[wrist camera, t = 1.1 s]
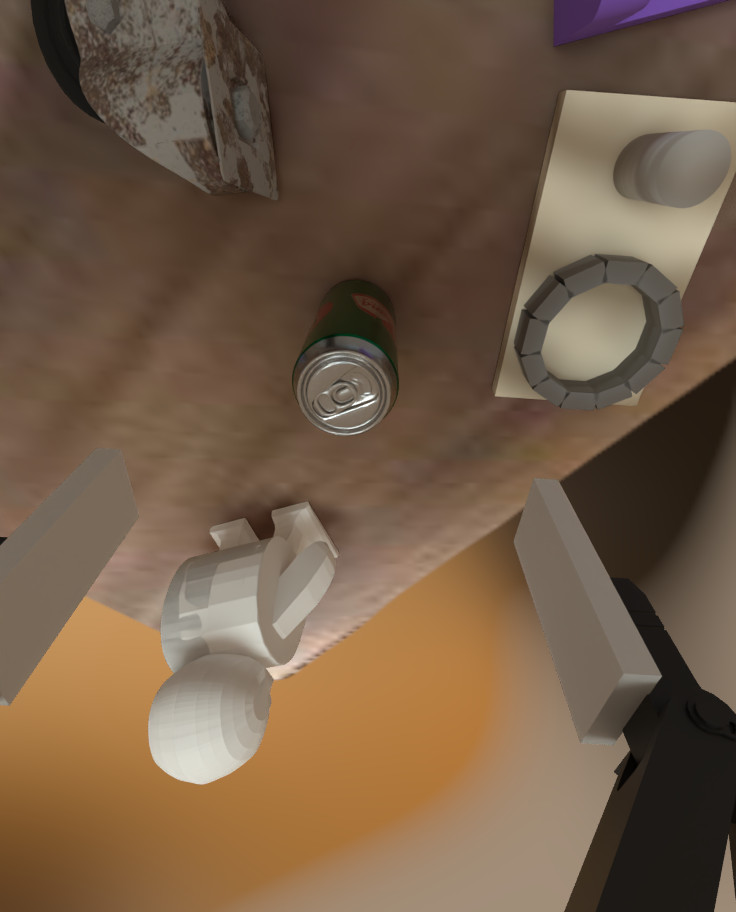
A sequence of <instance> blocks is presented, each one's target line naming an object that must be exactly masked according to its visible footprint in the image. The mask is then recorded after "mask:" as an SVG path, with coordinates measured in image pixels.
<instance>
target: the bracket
mask: <svg viewBox="0 0 736 912" xmlns="http://www.w3.org/2000/svg"><path fill="white" fill-rule="evenodd" d="M725 1H728V0H554V46H558V45H562V44H565V43H569V42H573V41H577V40H581V39H584V38H588V37H592V36H596V35H599V34H603V33H607V32H611V31H615V30H618V29H622V28H626V27H630V26H634V25H637V24H641V23H645V22H649V21H653V20H656V19H660V18H664V17H668V16H671V15H675V14H679V13H683V12H687V11H690V10H694V9H698V8H702V7H706V6H709V5H713V4H717V3H721V2H725Z"/></svg>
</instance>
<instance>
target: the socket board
mask: <svg viewBox="0 0 736 912" xmlns="http://www.w3.org/2000/svg"><path fill="white" fill-rule="evenodd" d="M735 172H736V102H723V101H710V100H696V99H683V98H669V97H656V96H642V95H629V94H615V93H602V92H588V91H575V90H565V91H562V92H559V95H558V100H557V104H556V108H555V113H554V117H553V122H552V126H551V130H550V135H549V139H548V143H547V148H546V152H545V157H544V161H543V165H542V170H541V174H540V179H539V183H538V187H537V192H536V196H535V201H534V205H533V209H532V214H531V218H530V223H529V227H528V231H527V236H526V240H525V245H524V249H523V253H522V258H521V262H520V266H519V271H518V275H517V280H516V284H515V288H514V293H513V297H512V302H511V306H510V310H509V315H508V319H507V324H506V328H505V332H504V337H503V341H502V346H501V350H500V354H499V359H498V363H497V368H496V372H495V376H494V381H493V385H492V391H493V393H494V395H495V396H499V397H514V398H528V399H542V400H548V401H549V402H551V403H552V404H554V405H555V406H557V407H558V406H560V408H566V409H581V410H594V408H595V407H596V408H597V410H598V409H601V408H604V407H606V406H609V405H612V404H615V405H629V406H636V405H637V403H638V400H639V398H640V396H641V393H642V391H643V389H644V387H645V386H646V385H647V384H648V383H649V382H650V381H652V380H653V379H654V378H655V377H656V376H657V375H658V374H659V373H660V372H661V371H663V370H664V369H665V367H663V366H662V365H661V364H668V363H669V361H670V359H671V356H672V354H673V352H674V350H675V347H676V345H677V343H678V341H679V338H680V336H681V334H682V332H683V329H681V328H680V327H682V326H684V321H683V314H682V306H681V299H682V297H683V294H684V292H685V290H686V287H687V285H688V283H689V280H690V278H691V276H692V273H693V271H694V269H695V266H696V264H697V261H698V259H699V257H700V254H701V252H702V250H703V247H704V245H705V243H706V240H707V238H708V236H709V233H710V231H711V229H712V226H713V224H714V221H715V219H716V217H717V214H718V212H719V210H720V207H721V205H722V203H723V200H724V198H725V196H726V193H727V191H728V189H729V186H730V184H731V181H732V179H733V177H734V174H735Z"/></svg>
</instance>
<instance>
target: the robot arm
mask: <svg viewBox="0 0 736 912" xmlns="http://www.w3.org/2000/svg"><path fill="white" fill-rule="evenodd" d="M138 517H139V513H138V510H137V506H136V502H135V499H134V495H133V491H132V488H131V484H130V480H129V476H128V473H127V469H126V465H125V462H124V458H123V454H122V451H121V450H120V449H106V448H96V449H95V450H94V451H93V452H92V453H91V454H90V455H89V456H88V457H87V458H86V460H85V461H84V462H83V463H82V464H81V465H80V466H79V467H78V468H77V469H76V470H75V471H74V472H73V473H72V474H71V475H70V476H69V477H68V478H67V479H66V480H65V481H64V482H63V483H62V484H61V485H60V486H59V487H58V488H57V489H56V490H55V491H54V492H53V493H52V494H51V495H50V496H49V497H48V498H47V499H46V500H45V501H44V502H43V503H42V504H41V505H40V506H39V507H38V508H37V509H36V510H35V511H34V512H33V513H32V514H31V515H30V516H29V517H28V518H27V519H26V520H25V521H24V522H23V523H22V524H21V525H20V526H19V527H18V528H17V529H16V530H15V531H14V532H13V533H12V534H11V535H10V536H9V537H8V538H7V537H0V705H10V704H11V703H12V701H13V700H14V698H15V697H16V695H17V694H18V692H19V691H20V690H21V688H22V687H23V685H24V684H25V682H26V681H27V679H28V678H29V676H30V675H31V673H32V672H33V671H34V669H35V668H36V666H37V665H38V663H39V662H40V660H41V659H42V657H43V656H44V654H45V653H46V651H47V650H48V649H49V647H50V646H51V644H52V643H53V641H54V640H55V638H56V637H57V636H58V634H59V633H60V631H61V630H62V628H63V627H64V625H65V624H66V622H67V621H68V619H69V618H70V617H71V615H72V614H73V612H74V611H75V609H76V608H77V606H78V605H79V603H80V602H81V601H82V599H83V598H84V596H85V595H86V593H87V592H88V590H89V589H90V587H91V586H92V584H93V583H94V582H95V580H96V579H97V577H98V576H99V574H100V573H101V571H102V570H103V568H104V567H105V566H106V564H107V563H108V561H109V560H110V558H111V557H112V555H113V554H114V552H115V551H116V549H117V548H118V547H119V545H120V544H121V542H122V541H123V539H124V538H125V536H126V535H127V533H128V532H129V531H130V529H131V528H132V526H133V525H134V523H135V522H136V520H137V519H138ZM514 545H515V547H516V551H517V553H518V556H519V559H520V562H521V566H522V569H523V571H524V575H525V578H526V581H527V584H528V587H529V589H530V593H531V595H532V599H533V601H534V605H535V608H536V611H537V614H538V617H539V620H540V623H541V626H542V629H543V632H544V635H545V638H546V641H547V644H548V647H549V650H550V653H551V656H552V659H553V662H554V665H555V668H556V671H557V674H558V677H559V680H560V683H561V686H562V689H563V692H564V695H565V698H566V701H567V704H568V707H569V710H570V713H571V716H572V719H573V722H574V725H575V728H576V731H577V734H578V738H579V741H580V743H587V744H602V745H614V744H615V742H616V741H617V739H618V738H619V737H620V735H621V734H622V732H623V733H624V736H625V738H626V740H627V743H628V745H629V748H630V751H629V752H628V754H627V755H626V756H625V758H624V759H623V761H622V762H621V763H620V764H619V766H618V767H617V769H616V770H615V771H614V772H615V773H616V774H617V775H618V777H617V779H616V782H615V784H614V787H613V790H612V792H611V795H610V797H609V800H608V802H607V805H606V807H605V810H604V812H603V815H602V818H601V820H600V823H599V825H598V828H597V830H596V833H595V835H594V838H593V840H592V843H591V845H590V848H589V850H588V853H587V855H586V858H585V861H584V863H583V866H582V868H581V871H580V873H579V876H578V878H577V881H576V883H575V886H574V888H573V891H572V893H571V896H570V899H569V902H568V904H567V906H566V909H565V911H564V912H714V908H715V903H716V898H717V893H718V887H719V882H720V877H721V871H722V865H723V860H724V855H725V850H726V845H727V839H728V834H729V841H730V850H731V860H732V869H733V879H734V888H735V898H736V714H735V713H734V712H733V711H732V709H731V708H730V707H729V706H728V705H727V704H726V703H724V702H723V701H722V700H720V699H719V698H718V697H716V696H715V695H714V694H712V693H709V692H707V691H705V690H703V689H701V687H700V686H699V685H698V683H697V681H696V680H695V678H694V676H693V675H692V673H691V671H690V670H689V668H688V666H687V664H686V663H685V661H684V660H683V658H682V656H681V655H680V653H679V651H678V649H677V648H676V646H675V644H674V643H673V641H672V639H671V637H670V636H669V634H668V632H667V631H666V630H664V626H663V624H662V622H661V621H660V619H659V617H658V616H656V615H655V610H654V609H653V607H652V605H651V604H650V602H649V601H648V599H647V597H646V595H645V594H644V593H643V592H642V591H641V590H640V589H639V588H638V587H637V586H636V585H634V584H633V583H632V582H631V581H630V580H629V579H626V578H610V577H609V576H608V574H607V572H606V570H605V568H604V566H603V564H602V562H601V560H600V559H599V557H598V555H597V553H596V551H595V549H594V547H593V545H592V543H591V542H590V540H589V538H588V536H587V534H586V532H585V530H584V529H583V526H582V525H581V523H580V521H579V519H578V517H577V515H576V514H575V511H574V510H573V508H572V506H571V504H570V502H569V500H568V498H567V496H566V495H565V493H564V491H563V489H562V487H561V485H560V483H559V481H558V480H553V479H538V478H534V479H533V482H532V485H531V489H530V492H529V495H528V498H527V501H526V504H525V508H524V511H523V514H522V517H521V520H520V523H519V527H518V530H517V533H516V536H515V539H514Z"/></svg>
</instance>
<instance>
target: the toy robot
mask: <svg viewBox="0 0 736 912" xmlns="http://www.w3.org/2000/svg"><path fill="white" fill-rule="evenodd" d="M272 519H273V522H274V524H275V532H274V535H273V537H271V538H267V539H263V540H259V539H258V538H257V536H256V535H255V533H254V531H253V530H252V528H251V526H250V525H249V523H248V521H247V520H246V518H242V519H238V520H235V521H231V522H227V523H223V524H219V525H216V526H212V527H211V529H210V534H211V536H212V537H213V539H214V540H215V542H216V543H217V545H218V546H219V548H220V549H219V551H215V552H211V553H207V554H203V555H199V556H195V557H192V558H189V559H187V560H186V561H185V562H184V563H183V564H182V565H181V566H180V567H179V569H178V570H177V572H176V574H175V575H174V577H173V580H172V582H171V584H170V586H169V589H168V592H167V595H166V598H165V602H164V606H163V612H162V617H161V643H162V649H163V653H164V657H165V659H166V662H167V663H168V665H169V667H170V669H171V670H172V671H173V673H174V674H173V675H172V676H171V677H170V678H169V679H168V680H167V681H165V683H164V684H163V685H162V686H161V688H160V689H159V691H158V692H157V694H156V696H155V698H154V700H153V703H152V706H151V710H150V715H149V725H148V727H149V728H148V732H149V745H150V750H151V753H152V756H153V759H154V760H155V762H156V764H157V765H158V766H159V767H160V768H161V769H163V770H164V771H165V772H166V773H168V774H169V775H171V776H173V777H174V778H176V779H178V780H182V781H186V782H191V783H196V784H206V783H209V782H212V781H214V780H216V779H219V778H221V777H223V776H226V775H228V774H230V773H232V772H233V771H234V770H236V769H237V768H239V767H240V766H241V765H243V764H244V763H245V762H246V761H248V760H249V759H250V758H251V757H252V756H253V755H254V754H255V753H256V751H257V749H258V747H259V745H260V743H261V740H262V738H263V735H264V732H265V729H266V725H267V721H268V717H269V709H270V706H271V696H270V690H271V686H272V683H273V681H274V679H273V678H272V676H271V675H270V673H269V672H268V671H267V669H266V668H268V667H274V666H279V665H284V664H286V663H288V662H289V661H290V660H291V659H292V658H293V656H294V654H295V652H296V650H297V647H298V645H299V641H300V638H301V635H302V632H303V628H304V625H305V621H306V616H307V615H308V614H309V613H310V612H311V611H312V609H313V608H314V607H315V606H316V605H317V604H318V602H319V601H320V599H321V598H322V596H323V595H324V594H325V592H326V591H327V589H328V587H329V585H330V583H331V581H332V579H333V576H334V573H335V558H337V557H339V554H340V553H339V552H338V550H337V549H336V547H335V545H334V544H333V542H332V540H331V539H330V537H329V535H328V534H327V532H326V530H325V529H324V527H323V526H322V524H321V522H320V521H319V519H318V517H317V516H316V514H315V512H314V511H313V509H312V507H311V506H310V504H309V502H308V501H307V502H303V503H299V504H295V505H291V506H288V507H284V508H280V509H276V510H273V511H272Z"/></svg>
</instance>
